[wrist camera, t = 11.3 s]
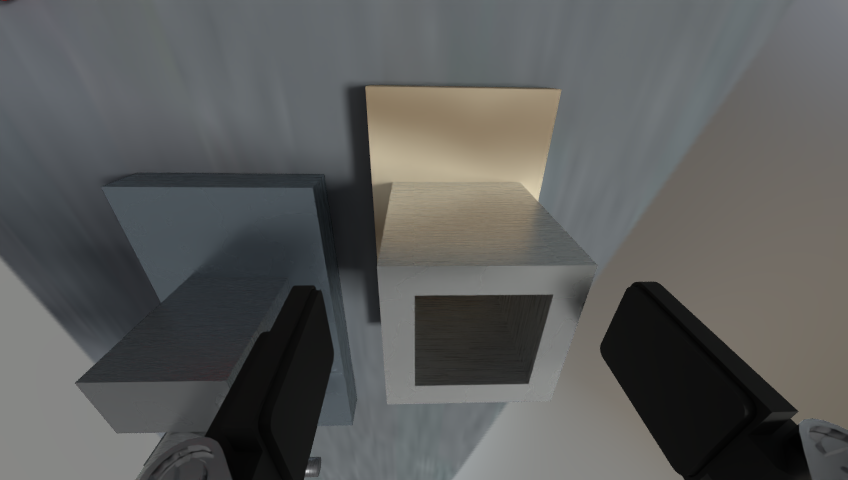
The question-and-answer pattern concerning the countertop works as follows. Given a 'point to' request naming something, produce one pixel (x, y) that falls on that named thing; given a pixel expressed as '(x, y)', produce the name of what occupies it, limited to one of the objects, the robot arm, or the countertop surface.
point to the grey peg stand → (215, 296)
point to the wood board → (457, 137)
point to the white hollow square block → (476, 293)
